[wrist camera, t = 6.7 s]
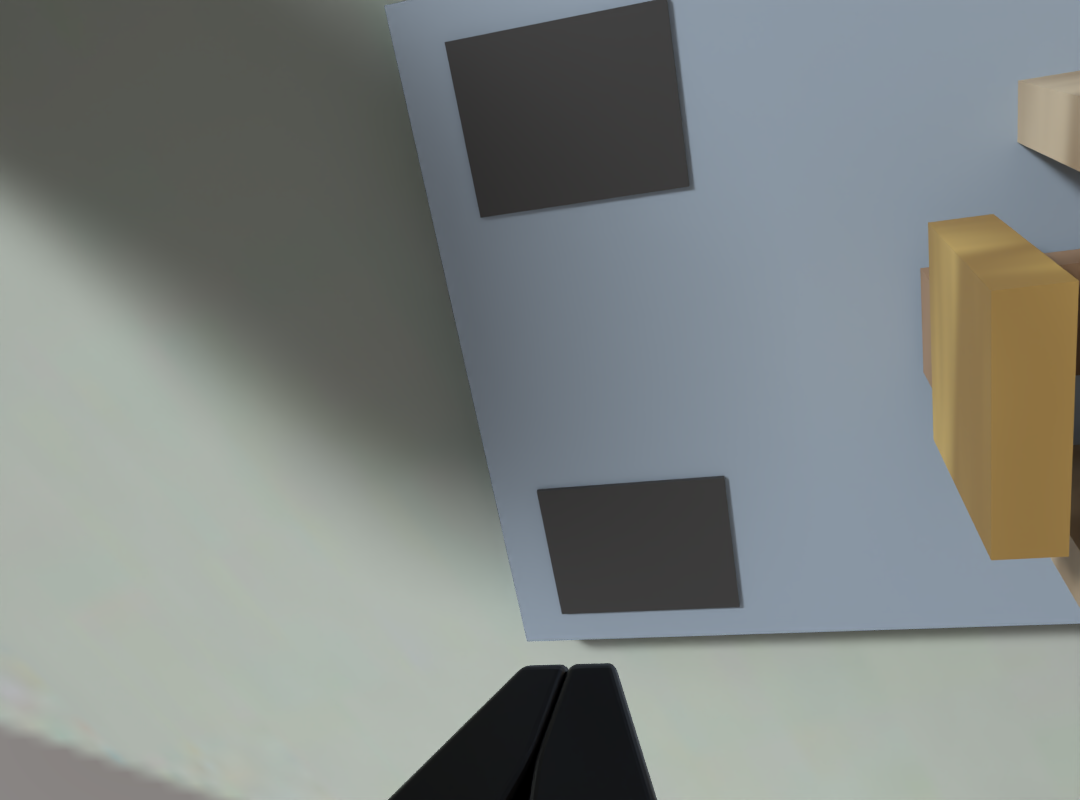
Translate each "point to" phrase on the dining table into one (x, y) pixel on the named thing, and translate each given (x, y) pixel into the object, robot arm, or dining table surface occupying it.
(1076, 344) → the tan u-shaped piece
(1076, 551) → the tunnel
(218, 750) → the dining table surface
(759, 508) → the pale blue flat board
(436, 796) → the robot arm
